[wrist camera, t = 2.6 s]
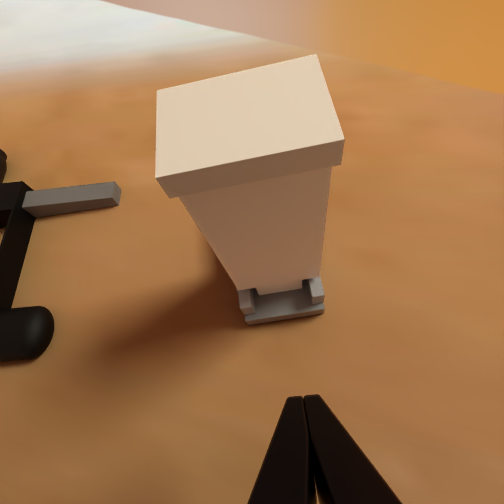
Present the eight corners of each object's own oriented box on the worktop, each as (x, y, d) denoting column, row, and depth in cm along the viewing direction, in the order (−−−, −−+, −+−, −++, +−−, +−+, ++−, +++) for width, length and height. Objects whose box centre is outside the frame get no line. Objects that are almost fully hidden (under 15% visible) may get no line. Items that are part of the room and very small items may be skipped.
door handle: (118, 123, 28) (-49, 144, 29) (81, 353, 20) (-153, 372, 21) (134, 149, 31) (-18, 167, 32) (107, 359, 23) (-98, 375, 24)
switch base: (323, 313, 20) (325, 301, 18) (247, 325, 21) (238, 315, 18) (291, 169, 26) (290, 145, 23) (230, 181, 26) (222, 158, 24)
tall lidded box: (322, 289, 20) (344, 138, 8) (241, 302, 20) (155, 177, 9) (310, 239, 21) (316, 53, 10) (236, 253, 22) (157, 90, 10)
